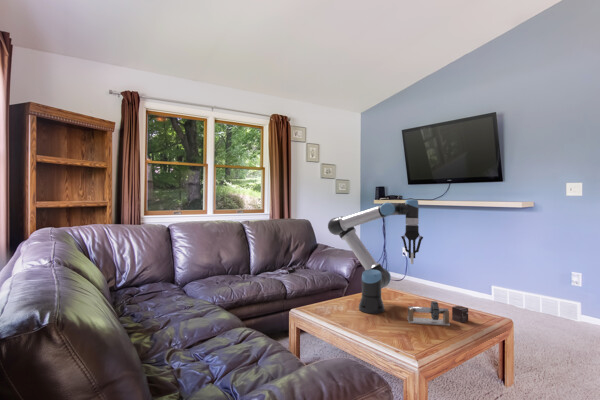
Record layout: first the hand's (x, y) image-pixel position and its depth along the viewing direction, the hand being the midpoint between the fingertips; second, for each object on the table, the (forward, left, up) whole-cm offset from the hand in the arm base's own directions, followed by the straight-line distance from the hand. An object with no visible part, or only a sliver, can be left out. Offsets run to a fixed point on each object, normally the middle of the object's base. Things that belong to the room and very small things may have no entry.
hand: (411, 263), depth 202 cm
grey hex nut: (+9, -19, -27) cm, 34 cm away
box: (+24, -13, -29) cm, 40 cm away
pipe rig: (+6, -19, -28) cm, 35 cm away
